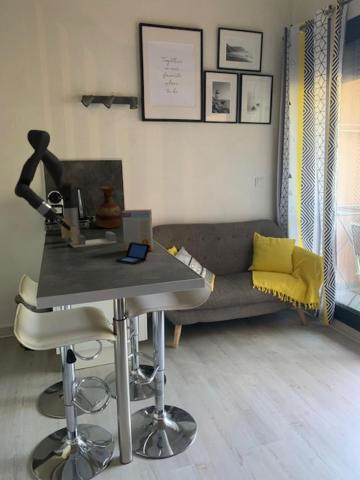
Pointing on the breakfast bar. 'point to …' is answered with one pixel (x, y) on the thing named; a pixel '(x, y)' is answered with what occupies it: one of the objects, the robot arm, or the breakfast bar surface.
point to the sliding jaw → (76, 236)
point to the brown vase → (108, 210)
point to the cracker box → (137, 227)
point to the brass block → (64, 231)
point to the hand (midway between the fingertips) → (69, 228)
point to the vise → (99, 240)
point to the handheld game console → (135, 253)
